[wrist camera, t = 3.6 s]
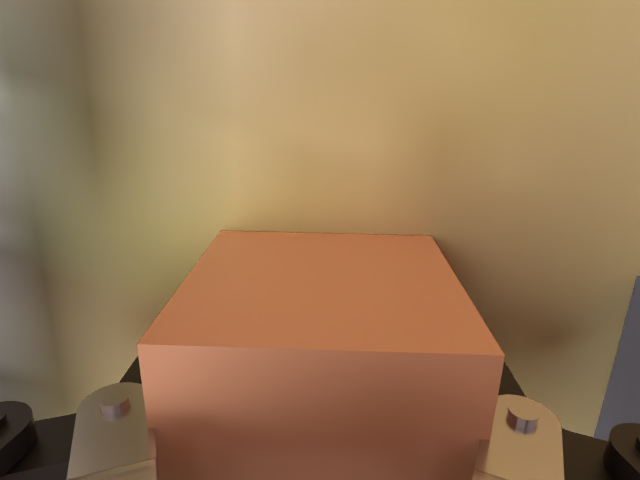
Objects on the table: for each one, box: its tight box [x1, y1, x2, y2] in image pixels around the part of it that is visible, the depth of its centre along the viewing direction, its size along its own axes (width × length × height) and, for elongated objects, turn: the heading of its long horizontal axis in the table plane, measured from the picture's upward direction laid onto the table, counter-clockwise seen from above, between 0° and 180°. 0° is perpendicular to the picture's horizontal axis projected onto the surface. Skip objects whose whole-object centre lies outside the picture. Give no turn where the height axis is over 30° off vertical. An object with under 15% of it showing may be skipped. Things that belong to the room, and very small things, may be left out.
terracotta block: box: [137, 231, 505, 480], centre depth 10 cm, size 6×6×6 cm
